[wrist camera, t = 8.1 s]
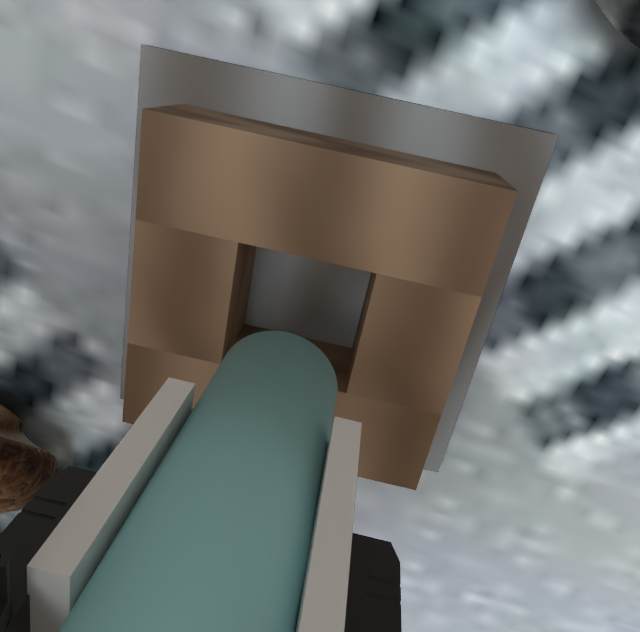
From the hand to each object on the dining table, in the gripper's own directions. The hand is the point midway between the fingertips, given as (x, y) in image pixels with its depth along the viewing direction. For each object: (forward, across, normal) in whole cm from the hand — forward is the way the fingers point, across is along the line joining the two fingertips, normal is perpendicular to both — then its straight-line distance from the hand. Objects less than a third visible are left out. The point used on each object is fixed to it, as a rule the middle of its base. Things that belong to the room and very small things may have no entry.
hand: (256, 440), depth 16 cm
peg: (+3, 0, 0) cm, 3 cm away
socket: (+13, 0, 0) cm, 13 cm away
